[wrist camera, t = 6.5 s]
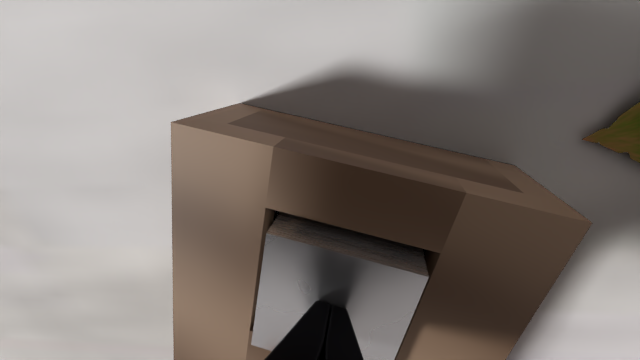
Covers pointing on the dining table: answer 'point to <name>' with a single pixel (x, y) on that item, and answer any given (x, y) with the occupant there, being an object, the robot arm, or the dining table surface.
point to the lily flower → (621, 134)
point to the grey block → (338, 282)
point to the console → (358, 228)
